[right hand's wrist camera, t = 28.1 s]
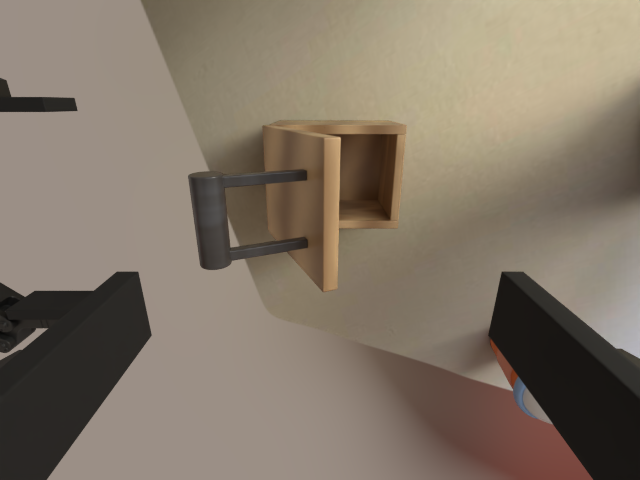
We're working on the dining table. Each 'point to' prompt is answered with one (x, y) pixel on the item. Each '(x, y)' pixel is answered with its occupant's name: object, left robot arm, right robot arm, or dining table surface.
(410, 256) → the dining table surface
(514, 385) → the cup with straw
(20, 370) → the right robot arm
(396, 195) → the chest
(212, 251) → the lid
